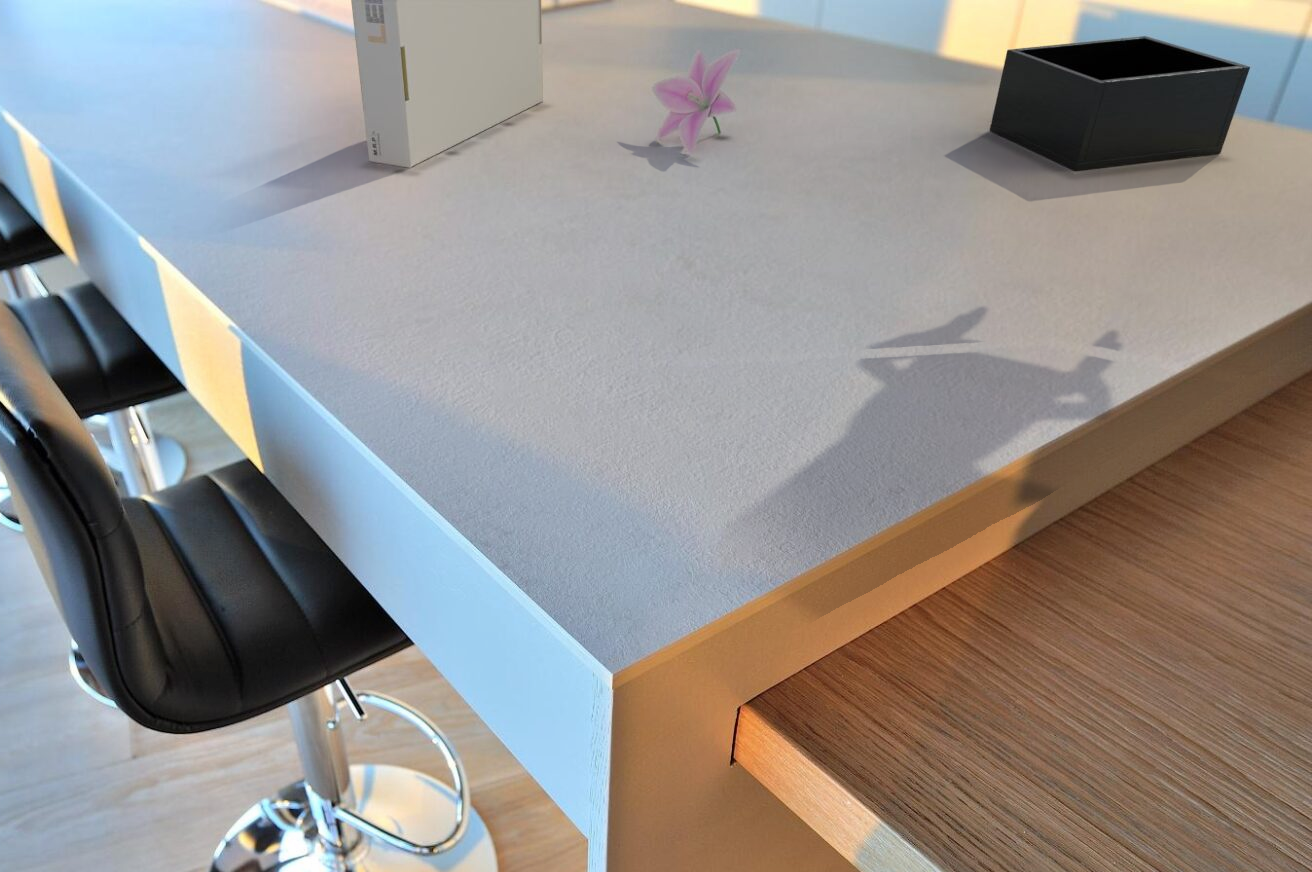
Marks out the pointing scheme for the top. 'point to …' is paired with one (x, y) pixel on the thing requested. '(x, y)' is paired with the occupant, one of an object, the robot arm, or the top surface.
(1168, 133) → the black open box
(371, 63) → the packaging
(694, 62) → the lily
